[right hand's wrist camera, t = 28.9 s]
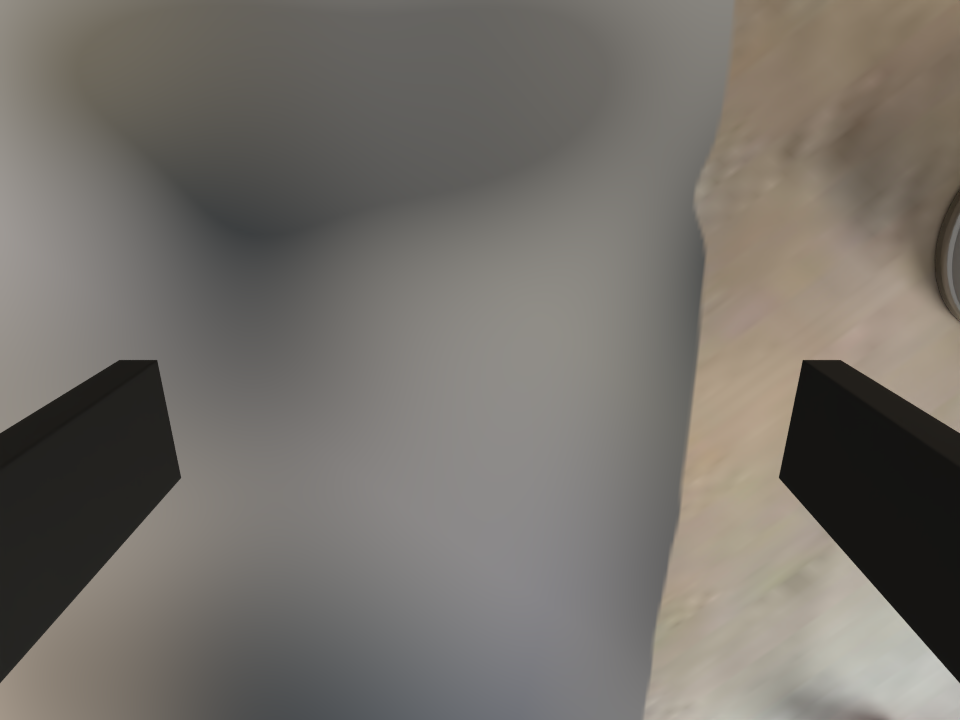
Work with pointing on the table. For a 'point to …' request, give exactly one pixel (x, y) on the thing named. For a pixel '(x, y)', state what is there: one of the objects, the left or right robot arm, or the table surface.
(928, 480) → the right robot arm
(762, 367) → the table surface
